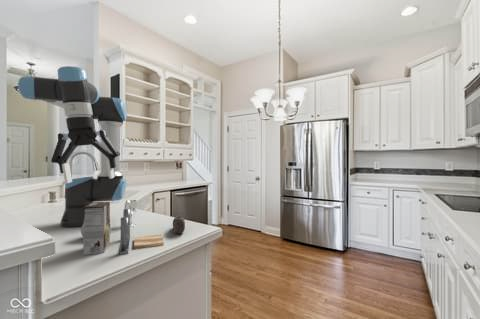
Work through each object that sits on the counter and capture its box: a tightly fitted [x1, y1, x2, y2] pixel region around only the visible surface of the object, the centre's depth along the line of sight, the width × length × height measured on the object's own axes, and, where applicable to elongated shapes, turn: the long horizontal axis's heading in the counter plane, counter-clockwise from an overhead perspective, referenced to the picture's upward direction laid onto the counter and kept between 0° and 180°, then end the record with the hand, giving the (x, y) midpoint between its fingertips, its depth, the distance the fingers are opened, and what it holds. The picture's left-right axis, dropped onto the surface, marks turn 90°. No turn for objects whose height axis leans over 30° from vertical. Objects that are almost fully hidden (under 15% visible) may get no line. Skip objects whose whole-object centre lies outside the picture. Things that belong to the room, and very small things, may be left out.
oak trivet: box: [133, 234, 165, 250], centre depth 89 cm, size 10×10×1 cm
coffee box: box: [82, 201, 111, 256], centre depth 82 cm, size 9×6×16 cm
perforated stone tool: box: [172, 215, 186, 235], centre depth 104 cm, size 15×5×7 cm, turn 15°
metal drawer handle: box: [119, 208, 131, 256], centre depth 85 cm, size 17×2×12 cm, turn 24°
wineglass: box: [124, 199, 139, 228], centre depth 112 cm, size 6×6×12 cm
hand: (90, 180), depth 78 cm, fingers open, 13 cm apart
